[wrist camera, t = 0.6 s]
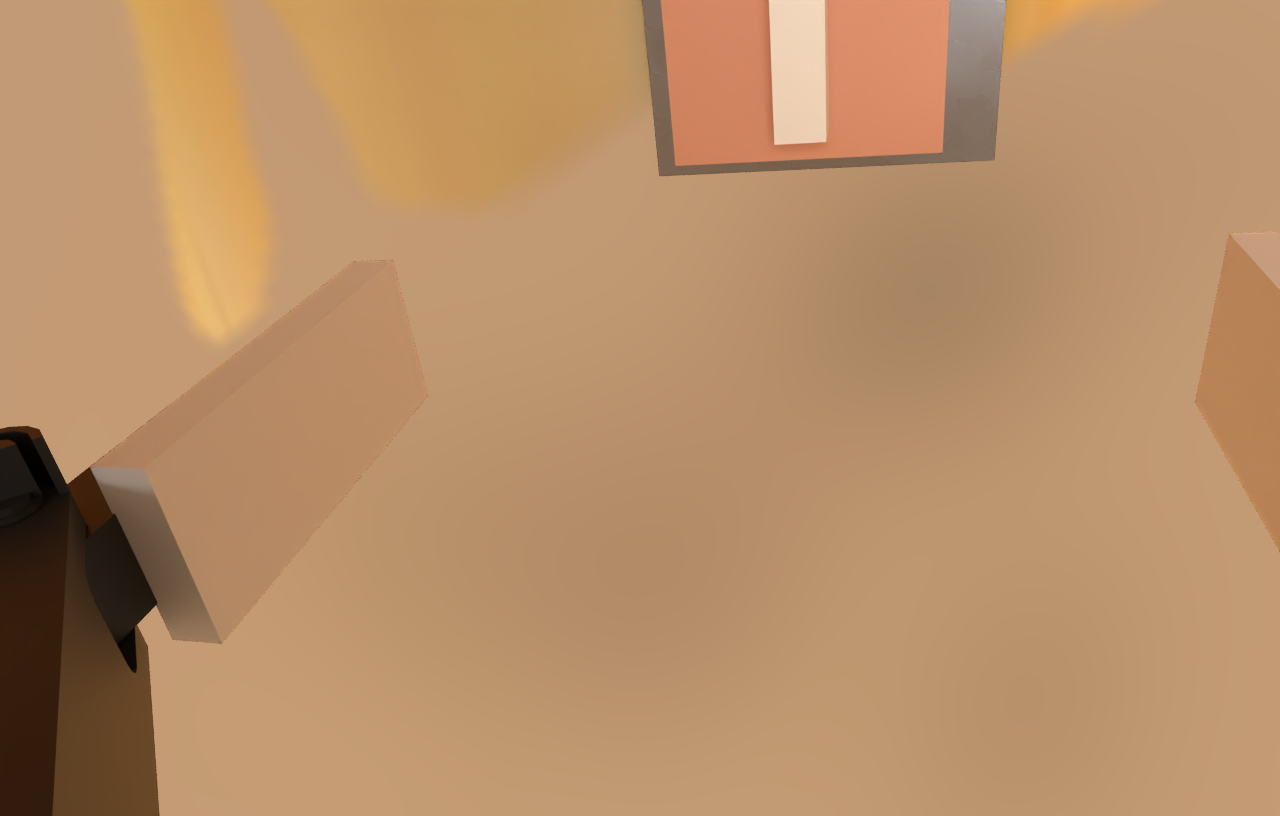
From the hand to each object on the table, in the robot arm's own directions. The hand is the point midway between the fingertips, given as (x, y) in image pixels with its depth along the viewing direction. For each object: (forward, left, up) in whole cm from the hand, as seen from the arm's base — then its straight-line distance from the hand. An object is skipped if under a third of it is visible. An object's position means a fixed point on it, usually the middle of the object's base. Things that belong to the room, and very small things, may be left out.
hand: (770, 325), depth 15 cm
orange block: (-3, 0, -19) cm, 19 cm away
